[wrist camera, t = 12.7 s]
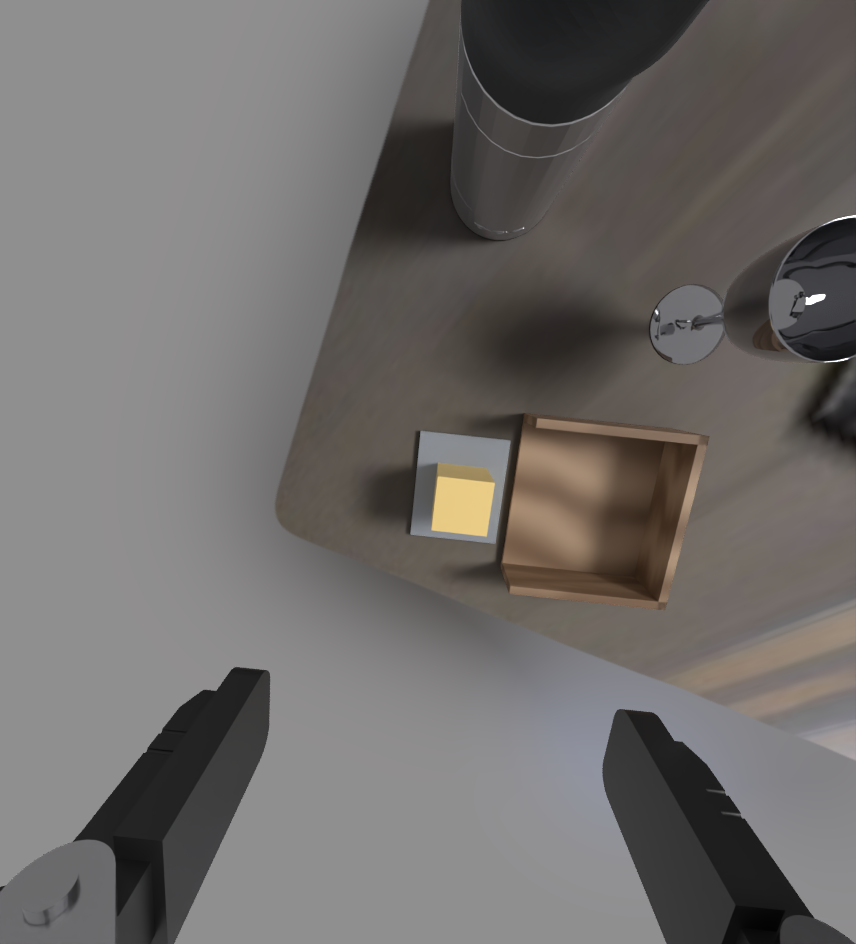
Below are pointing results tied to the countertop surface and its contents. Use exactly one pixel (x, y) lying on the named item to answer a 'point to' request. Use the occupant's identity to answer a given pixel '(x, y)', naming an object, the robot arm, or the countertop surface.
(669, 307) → the wine glass
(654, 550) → the box
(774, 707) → the countertop surface
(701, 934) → the robot arm
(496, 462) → the mat
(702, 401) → the countertop surface
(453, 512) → the block
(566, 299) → the countertop surface
